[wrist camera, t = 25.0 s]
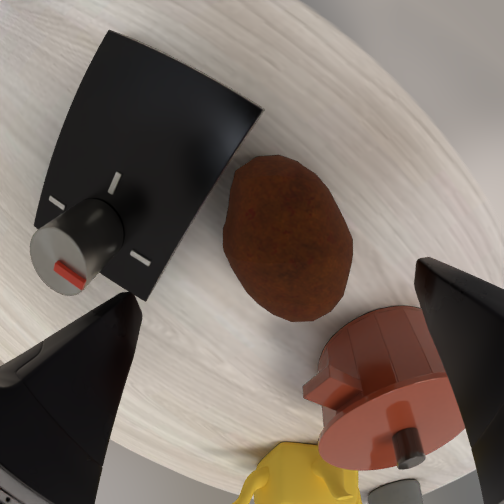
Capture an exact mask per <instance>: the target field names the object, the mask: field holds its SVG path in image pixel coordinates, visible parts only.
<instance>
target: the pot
mask: <svg viewBox="0 0 504 504" xmlns="http://www.w3.org/2000/svg"><path fill="white" fill-rule="evenodd" d="M318 370H319V373H318V374H317V375H316V376H315V377H313V378H312V379H311V380H310V381H308V382H307V383H306V384H305V385H303V398H305V399H307V400H310V401H312V402H315V403H317V404H320V405H322V412H323V424H324V427H325V426H326V425H327V423H328V422H329V421H330V420H331V419H332V418H333V417H335V416H336V415H337V414H338V413H340V412H341V411H342V410H343V409H345V408H346V407H348V406H349V405H351V404H353V403H354V402H356V401H358V400H359V399H361V398H363V397H365V396H367V395H369V394H371V393H373V392H375V391H377V390H379V389H382V388H384V387H387V386H389V385H391V384H394V383H397V382H400V381H403V380H406V379H409V378H413V377H416V376H420V375H425V374H429V373H436V372H446V371H445V369H444V366H443V364H442V361H441V359H440V356H439V354H438V351H437V349H436V346H435V344H434V342H433V339H432V337H431V335H430V332H429V330H428V327H427V324H426V321H425V318H424V315H423V312H422V309H420V308H416V307H411V306H393V307H386V308H382V309H378V310H375V311H372V312H369V313H367V314H365V315H362V316H360V317H358V318H356V319H355V320H353V321H351V322H350V323H348V324H347V325H345V326H344V327H343V328H341V329H340V330H339V331H338V332H337V333H336V334H335V335H334V336H333V337H332V338H331V339H330V340H329V342H328V343H327V344H326V346H325V348H324V349H323V351H322V353H321V356H320V359H319V364H318Z"/></svg>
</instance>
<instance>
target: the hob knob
mask: <svg viewBox="0 0 504 504" xmlns="http://www.w3.org/2000/svg"><path fill="white" fill-rule="evenodd" d="M123 236H124V234H123V227H122V223H121V221H120V218H119V217H118V215H117V213H116V212H115V211H114V210H113V208H111V207H110V206H109V205H108V204H107V203H105V202H103V201H101V200H97V199H86V200H83V201H81V202H80V203H78V204H76V205H75V206H73V207H72V208H70V209H68V210H67V211H65V212H64V213H62V214H61V215H59V216H58V217H56V218H55V219H53V220H52V221H50V222H49V223H47V224H46V225H44V226H43V227H41V228H40V229H38V230H37V231H36V232H35V233H34V235H33V237H32V239H31V243H30V255H31V260H32V263H33V266H34V268H35V270H36V272H37V274H38V275H39V277H40V278H41V279H42V281H43V282H44V283H45V284H46V285H47V286H48V287H50V288H51V289H52V290H54V291H55V292H57V293H60V294H62V295H67V296H72V295H76V294H79V293H80V292H82V291H83V290H84V289H85V288H86V286H87V285H88V284H89V283H90V282H91V281H92V280H93V279H94V277H95V276H96V275H97V274H98V273H99V272H100V271H101V270H102V269H103V267H104V266H105V265H106V264H107V263H108V262H109V261H110V260H111V259H112V258H113V257H114V256H115V254H116V253H117V252H118V251H119V250H120V248H121V246H122V243H123Z"/></svg>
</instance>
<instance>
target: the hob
mask: <svg viewBox="0 0 504 504" xmlns="http://www.w3.org/2000/svg"><path fill="white" fill-rule="evenodd" d="M264 111H265V109H264V108H262V107H261V106H259V105H258V104H256V103H254V102H253V101H251V100H250V99H248V98H246V97H245V96H243V95H241V94H240V93H238V92H236V91H235V90H233V89H231V88H229V87H228V86H226V85H224V84H222V83H221V82H219V81H217V80H215V79H214V78H212V77H210V76H208V75H206V74H205V73H203V72H201V71H199V70H197V69H195V68H193V67H191V66H189V65H188V64H186V63H184V62H182V61H180V60H178V59H176V58H174V57H172V56H170V55H168V54H166V53H164V52H161V51H159V50H157V49H155V48H153V47H151V46H149V45H146V44H144V43H142V42H140V41H138V40H135V39H133V38H131V37H128V36H126V35H123V34H120V33H117V32H114V31H111V30H108V32H107V34H106V35H105V37H104V39H103V41H102V42H101V44H100V46H99V48H98V50H97V52H96V54H95V55H94V57H93V59H92V61H91V63H90V65H89V67H88V69H87V71H86V73H85V75H84V77H83V80H82V82H81V84H80V86H79V88H78V90H77V93H76V95H75V97H74V100H73V102H72V104H71V107H70V109H69V111H68V114H67V116H66V119H65V122H64V124H63V127H62V129H61V132H60V135H59V138H58V140H57V143H56V146H55V149H54V152H53V155H52V158H51V161H50V165H49V168H48V171H47V175H46V178H45V182H44V185H43V189H42V193H41V197H40V201H39V205H38V209H37V213H36V218H35V222H34V226H35V227H36V228H37V229H40V228H41V227H43V226H44V225H46V224H47V223H49V222H50V221H52V220H53V219H55V218H56V217H58V216H59V215H61V214H62V213H64V212H65V211H67V210H68V209H70V208H72V207H73V206H75V205H76V204H78V203H80V202H81V201H83V200H86V199H97V200H101V201H103V202H105V203H107V204H108V205H109V206H110V207H111V208H113V210H114V211H115V212H116V213H117V215H118V217H119V218H120V221H121V223H122V227H123V234H124V236H123V243H122V246H121V248H120V250H119V251H118V252H117V253H116V254H115V256H114V257H113V258H112V259H111V260H110V261H109V262H108V263H107V264H106V265H105V266H104V267H103V269H102V270H101V271H100V272H99V273H101V274H102V275H104V276H106V277H107V278H109V279H110V280H112V281H113V282H115V283H116V284H118V285H119V286H121V287H123V288H124V289H126V290H127V291H129V292H132V293H133V294H134V295H135V296H137V297H139V298H140V299H142V300H144V301H147V299H148V298H149V296H150V294H151V293H152V291H153V289H154V288H155V286H156V284H157V283H158V281H159V279H160V277H161V275H162V274H163V272H164V270H165V268H166V267H167V265H168V263H169V261H170V260H171V258H172V256H173V254H174V253H175V251H176V249H177V247H178V246H179V244H180V242H181V241H182V239H183V237H184V235H185V234H186V232H187V230H188V229H189V227H190V225H191V224H192V222H193V220H194V219H195V217H196V215H197V214H198V212H199V210H200V209H201V207H202V206H203V204H204V202H205V201H206V199H207V197H208V196H209V194H210V193H211V191H212V189H213V188H214V186H215V185H216V183H217V181H218V180H219V178H220V177H221V175H222V174H223V172H224V171H225V169H226V167H227V166H228V164H229V163H230V161H231V160H232V158H233V157H234V155H235V154H236V152H237V151H238V149H239V148H240V146H241V144H242V143H243V141H244V140H245V138H246V137H247V136H248V134H249V133H250V131H251V130H252V128H253V127H254V125H255V124H256V122H257V121H258V119H259V118H260V116H261V115H262V114H263V112H264Z"/></svg>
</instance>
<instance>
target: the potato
mask: <svg viewBox="0 0 504 504" xmlns="http://www.w3.org/2000/svg"><path fill="white" fill-rule="evenodd" d="M223 249H224V253H225V255H226V257H227V259H228V261H229V263H230V266H231V268H232V269H233V271H234V273H235V274H236V276H237V278H238V279H239V281H240V282H241V284H242V286H243V287H244V289H245V290H246V292H247V293H248V294H249V295H250V296H251V297H252V298H253V299H254V300H255V301H256V302H257V303H258V304H259V305H260V306H262V307H263V308H265V309H266V310H267V311H269V312H270V313H272V314H273V315H276V316H278V317H281V318H283V319H286V320H288V321H291V322H305V321H314V320H316V319H318V318H320V317H322V316H324V315H326V314H327V313H329V312H331V311H332V310H333V308H334V307H335V306H336V305H337V303H338V302H339V301H340V299H341V298H342V297H343V295H344V291H345V288H346V284H347V280H348V276H349V272H350V268H351V263H352V257H353V239H352V236H351V234H350V231H349V229H348V227H347V224H346V222H345V220H344V218H343V216H342V214H341V212H340V210H339V208H338V206H337V204H336V202H335V200H334V198H333V196H332V194H331V192H330V191H329V189H328V188H327V187H326V185H325V184H324V183H323V182H322V181H321V179H320V178H319V177H318V176H317V175H316V174H315V173H314V172H312V171H310V170H309V169H307V168H306V167H304V166H303V165H302V164H300V163H299V162H298V161H295V160H292V159H289V158H287V157H284V156H281V155H270V156H258V157H255V158H254V159H252V160H251V161H249V162H248V163H246V164H245V165H243V166H242V167H240V168H239V169H237V170H236V171H235V174H234V178H233V182H232V186H231V189H230V196H229V206H228V211H227V217H226V222H225V224H224V227H223Z"/></svg>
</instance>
